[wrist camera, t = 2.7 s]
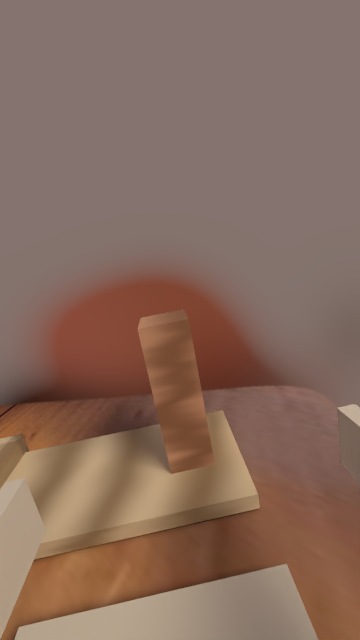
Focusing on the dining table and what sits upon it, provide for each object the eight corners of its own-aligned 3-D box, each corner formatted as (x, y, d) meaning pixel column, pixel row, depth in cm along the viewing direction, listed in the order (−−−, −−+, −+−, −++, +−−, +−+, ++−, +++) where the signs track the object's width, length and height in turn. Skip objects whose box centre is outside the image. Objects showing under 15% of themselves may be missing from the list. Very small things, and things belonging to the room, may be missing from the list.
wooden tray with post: (-229, 627, 16) (-376, 450, 13) (-76, 481, 27) (-136, 364, 24) (262, 515, 17) (236, 326, 14) (222, 417, 28) (203, 297, 25)
